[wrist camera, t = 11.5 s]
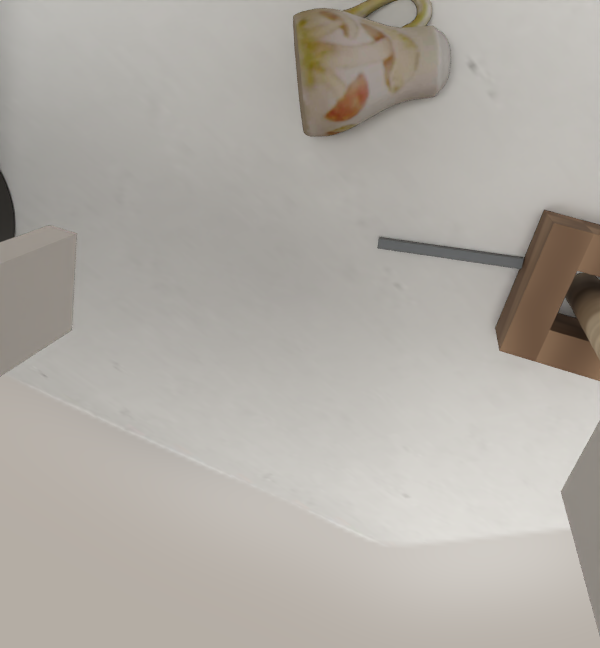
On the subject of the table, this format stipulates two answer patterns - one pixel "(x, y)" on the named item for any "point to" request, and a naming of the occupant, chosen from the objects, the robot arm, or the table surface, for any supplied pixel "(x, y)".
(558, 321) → the wooden block with hole
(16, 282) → the robot arm
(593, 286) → the wooden dowel rod
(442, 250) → the gray square bar
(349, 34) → the mug
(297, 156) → the table surface
